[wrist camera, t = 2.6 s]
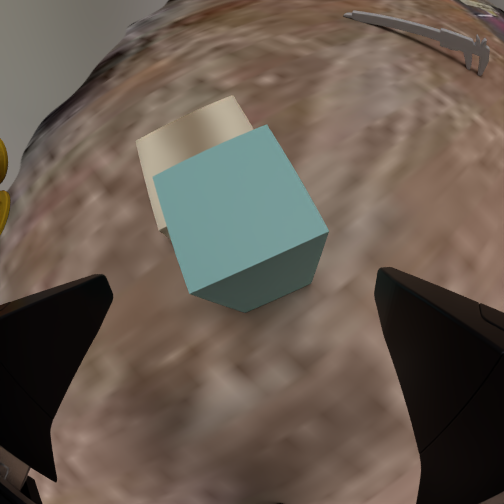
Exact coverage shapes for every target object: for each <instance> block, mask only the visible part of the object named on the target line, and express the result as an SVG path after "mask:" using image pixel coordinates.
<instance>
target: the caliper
mask: <svg viewBox="0 0 504 504" xmlns="http://www.w3.org/2000/svg"><path fill="white" fill-rule="evenodd" d="M343 16H344V17H349V18H352V19H354V20H357V21H360V22H364V23H370V24H375V25H381V26H386V27H390V28H395V29H399V30H403V31H407V32H411V33H415V34H418V35H422V36H425V37H428V38H431V39H435V40H438V41H440V46H441V47H446V48H449V49H450V50H456V51H458V50H460V51H462V52H463V53H464V57H465V62H466V67H467V69H469V70H470V67H471V62H472V53H473V54H475V55H478V56H480V58H479V67H478V75H482V74H483V72H484V70H485V68H486V66H487V64H488V62H489V52H490V49H489V47H488V46H486V38H484V39H483V40H482V42H481V44H480V39H479V37H478V35H477V36H476V42H475V43H474V42H473V39H471V38H469V37H466V36H464V35H461V34H458V33H455V32H452V31H449V30H446V29H443V28H441V30H438V29H435V28H432V27H429V26H425V25H422V24H418V23H415V22H411V21H407V20H403V19H398V18H394V17H389V16H384V15H379V14H373V13H367V12H361V11H353V12H352V13H345V14H344V15H343Z"/></svg>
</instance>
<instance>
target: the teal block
mask: <svg viewBox="0 0 504 504" xmlns="http://www.w3.org/2000/svg"><path fill="white" fill-rule="evenodd" d="M153 181H154V185H155V188H156V192H157V195H158V199H159V202H160V205H161V209H162V212H163V215H164V219H165V222H166V225H167V228H168V232H169V235H170V238H171V241H172V244H173V247H174V250H175V253H176V256H177V259H178V262H179V265H180V268H181V271H182V274H183V277H184V280H185V283H186V285H187V288H188V291H189V294H192V295H194V296H197V297H200V298H203V299H206V300H209V301H211V302H214V303H217V304H220V305H223V306H226V307H229V308H232V309H235V310H238V311H241V312H244V313H246V312H248V311H251V310H253V309H255V308H258V307H260V306H262V305H264V304H267V303H269V302H271V301H274V300H276V299H278V298H280V297H283V296H285V295H287V294H289V293H291V292H294V291H296V290H298V289H300V288H302V287H304V286H307V285H309V284H311V282H312V280H313V277H314V274H315V271H316V268H317V265H318V262H319V260H320V257H321V254H322V251H323V248H324V245H325V242H326V239H327V236H328V233H329V230H328V228H327V227H326V225H325V223H324V221H323V219H322V217H321V215H320V214H319V212H318V210H317V208H316V206H315V205H314V203H313V201H312V199H311V197H310V196H309V194H308V192H307V190H306V189H305V187H304V185H303V183H302V182H301V180H300V178H299V176H298V175H297V173H296V171H295V170H294V168H293V166H292V165H291V163H290V161H289V160H288V158H287V156H286V155H285V153H284V151H283V150H282V148H281V147H280V145H279V143H278V142H277V140H276V138H275V137H274V135H273V134H272V132H271V131H270V129H269V127H268V126H267V125H264V126H262V127H259V128H257V129H254V130H252V131H249V132H247V133H244V134H242V135H239V136H237V137H235V138H232V139H230V140H228V141H225V142H223V143H221V144H219V145H216V146H214V147H212V148H210V149H208V150H205V151H203V152H201V153H199V154H197V155H195V156H193V157H191V158H188V159H186V160H184V161H182V162H180V163H178V164H176V165H174V166H172V167H170V168H168V169H166V170H164V171H163V172H161V173H159V174H157V175H155V176H153Z"/></svg>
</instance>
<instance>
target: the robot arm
mask: <svg viewBox="0 0 504 504" xmlns="http://www.w3.org/2000/svg"><path fill="white" fill-rule="evenodd" d="M374 296H375V302H376V306H377V310H378V314H379V318H380V323H381V327H382V331H383V335H384V338H385V341H386V344H387V347H388V349H389V352H390V355H391V358H392V361H393V364H394V367H395V370H396V373H397V376H398V379H399V382H400V385H401V389H402V392H403V395H404V399H405V402H406V405H407V409H408V412H409V416H410V420H411V423H412V427H413V431H414V435H415V439H416V443H417V447H418V451H419V454H420V461H421V477H420V484H419V490H418V496H417V502H416V504H504V313H503V312H501V311H498V310H496V309H494V308H491V307H489V306H487V305H484V304H482V303H480V304H479V303H478V302H476V301H474V300H471V299H469V298H467V297H464V296H462V295H459V294H457V293H455V292H452V291H450V290H447V289H445V288H442V287H440V286H438V285H435V284H433V283H430V282H428V281H425V280H423V279H420V278H418V277H415V276H413V275H410V274H408V273H405V272H402V271H400V270H397V269H395V268H392V267H383V268H379V270H378V273H377V279H376V285H375V291H374ZM112 301H113V292H112V290H111V288H110V285H109V283H108V280H107V278H106V276H105V275H103V274H94V275H91V276H88V277H85V278H81V279H78V280H75V281H72V282H69V283H66V284H63V285H60V286H57V287H54V288H51V289H48V290H45V291H42V292H39V293H36V294H33V295H30V296H27V297H24V298H21V299H18V300H15V301H12V302H8V303H5V304H2V305H0V504H42V501H41V498H40V495H39V492H38V489H37V486H36V483H35V480H34V479H33V478H31V477H30V476H28V473H29V471H30V468H32V469H34V470H36V471H37V472H39V473H40V474H42V475H44V476H45V477H47V478H49V479H50V480H52V481H54V482H57V475H56V469H55V464H54V458H53V451H52V444H51V435H50V430H51V425H52V422H53V419H54V417H55V415H56V413H57V411H58V408H59V406H60V404H61V402H62V400H63V398H64V396H65V394H66V392H67V390H68V388H69V385H70V383H71V381H72V379H73V378H74V376H75V374H76V372H77V370H78V368H79V366H80V364H81V362H82V360H83V358H84V356H85V355H86V353H87V351H88V349H89V347H90V345H91V344H92V342H93V340H94V338H95V336H96V335H97V333H98V331H99V329H100V327H101V325H102V323H103V320H104V318H105V316H106V314H107V312H108V309H109V307H110V305H111V303H112ZM279 504H282V503H279Z"/></svg>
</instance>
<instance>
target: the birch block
mask: <svg viewBox="0 0 504 504" xmlns="http://www.w3.org/2000/svg"><path fill="white" fill-rule="evenodd" d="M252 130H254V129H253V127H252V126H251V124H250V122H249V121H248V119H247V117H246V116H245V114H244V112H243V111H242V109H241V108H240V106H239V104H238V103H237V101H236V100H235V98H234V96H233V95H232V96H229V97H227V98H224V99H222V100H219V101H217V102H214V103H212V104H210V105H207V106H205V107H203V108H201V109H198V110H196V111H194V112H192V113H190V114H187V115H185V116H183V117H181V118H179V119H177V120H175V121H173V122H171V123H169V124H167V125H165V126H163V127H161V128H159V129H157V130H155V131H153V132H152V133H150V134H148V135H146V136H144V137H142V138H140V139H139V140H137V141H136V145H137V149H138V154H139V158H140V162H141V166H142V171H143V175H144V179H145V182H146V186H147V190H148V194H149V198H150V201H151V205H152V209H153V212H154V216H155V219H156V223H157V226H158V230H159V231H160V232H161V233H163V234H164V235H165V236H167V237H168V238H169V239H171V238H170V235H169V232H168V228H167V225H166V222H165V219H164V215H163V212H162V209H161V205H160V202H159V199H158V195H157V192H156V188H155V185H154V181H153V176H155V175H157V174H159V173H161V172H163V171H164V170H166V169H168V168H170V167H172V166H174V165H176V164H178V163H180V162H182V161H184V160H186V159H188V158H191V157H193V156H195V155H197V154H199V153H201V152H203V151H205V150H208V149H210V148H212V147H214V146H216V145H219V144H221V143H223V142H225V141H228V140H230V139H232V138H235V137H237V136H239V135H242V134H244V133H247V132H249V131H252Z"/></svg>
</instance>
